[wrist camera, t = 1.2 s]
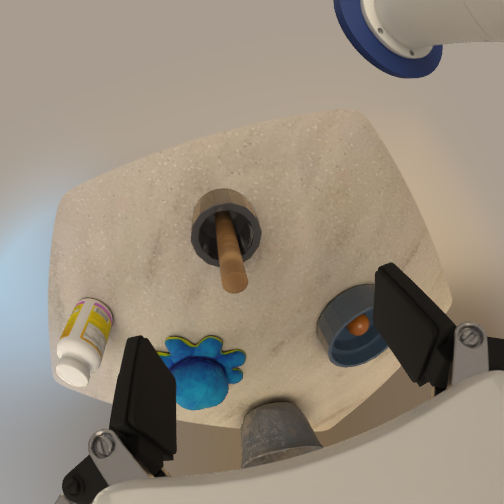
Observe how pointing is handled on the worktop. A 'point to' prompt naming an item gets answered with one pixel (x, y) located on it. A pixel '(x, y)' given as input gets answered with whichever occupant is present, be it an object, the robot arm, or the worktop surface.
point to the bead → (358, 325)
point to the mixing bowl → (337, 335)
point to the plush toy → (202, 371)
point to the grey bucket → (275, 434)
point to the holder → (241, 218)
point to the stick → (229, 255)
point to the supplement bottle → (83, 342)
